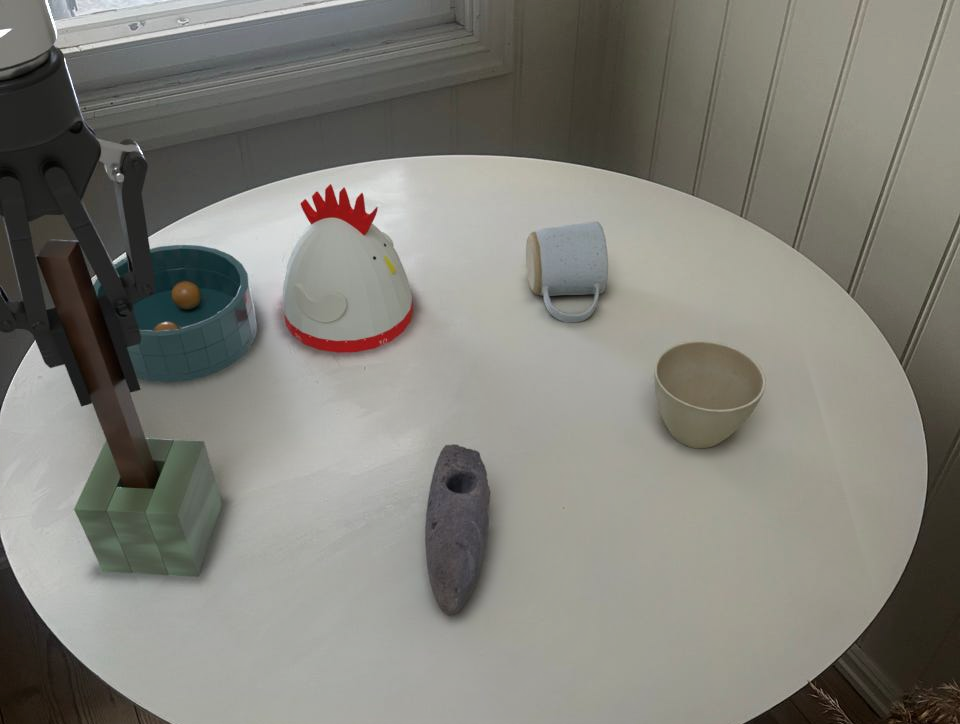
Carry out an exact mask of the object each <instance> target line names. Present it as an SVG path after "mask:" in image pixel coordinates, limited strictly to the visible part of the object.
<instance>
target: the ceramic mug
mask: <svg viewBox="0 0 960 724" xmlns="http://www.w3.org/2000/svg"><path fill="white" fill-rule="evenodd" d="M525 244H526V245H525V263H526V264H525V265H526V272H527V279H528V284H529V288H530V290H531V291H532V293H534V294H535V295H537V296H543V302H544V305H545V307H546V309H547V311H548V313H549V314H550V315H551V316H552V317H553V318H555V319H556V320H558V321H560V322H563V323H580V322H583V321H586V320H587V319H588V318H590V317H591V316H592V314H593V313H594V312H595V310H596V308H597V305H598V302H599V297H600V294H603V293H604V292H605V290H606V289H607V288H606V287H607V283H608V277H609V276H608V275H609V260H608V259H609V258H608V247H607V239H606V235H605V232H604V228H603V226H602V225H601V223H600V222H599V221H589V222H584V223H583V222H582V223H575V224H568V225H561V226H552V227H546V228H541V229H538V230H535V231H532V232H530V233H529V234H528V235H527V238H526V243H525ZM579 295H580V296H583V295H593V301H592V303H591V304H590V306H588V307H587V308H586V310H584V311H583V312H581V313H575V314H574V313H567V312H565V311H562V310H560V309H558V308H556V307H555V306H554V304H553V302H552V301H551V298H550V297H553V296H579Z"/></svg>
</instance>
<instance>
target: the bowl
mask: <svg viewBox="0 0 960 724" xmlns="http://www.w3.org/2000/svg"><path fill="white" fill-rule="evenodd" d="M150 253H151V259H152V266H153V273H154V279H155V286H156V291H155V293H154V294H153V295H152V296H150V297H141V298H139V299H137V300H136V301H135V302H134V304H133V309H134V315H135V318H136V321H137V324H138V328H139V331H140V334H141V343H140V344H137V345H134V346H130V347H127V349H128V353H129V356H130V359H131V362H132V365H133V368H134V371H135V374H136V377H137V379H139V380H143V381H148V382H154V383H155V382H157V383H178V382H179V383H181V382H187V381H193V380H197V379H201V378H205V377H207V376H210V375H213V374H216V373H217V372H220V371H222V370H224V369H226V368H227V367H229V366H231V365H232V364H234V363H235V362H237V361H238V360H240V359H241V358H242V357H243V356H244V355H245V354H246V353H247V352H248V351H249V349H250V348H251V347H252V345H253V343H254V342H255V339H256V336H257V332H258V322H257V317H256V310H255V305H254V299H253V294H252V290H251V289H252V288H251V285H250V280H249V274H248V272H247V271H246V269H245V266H244V265H243V263H242V262H240V261H239V259H236V258H235V257H234V256H233V255H231V254H230V253H227V252H225V251H223V250H220V249H217V248H215V247H210V246H205V245H199V244H173V245H171V244H170V245H162V246H157V247H152V248H150ZM113 264H114V266H115V268H116V270H117V272H118V274H119V276H120V277H121V276H123V275H125V274H126V273H128V272H129V268H128V263H127V257H123V258H122V259H120V260H118V261H117V262H116V263H113ZM182 281H189V282H192V283H194V284H195V285H196V286H197V287H198V288H199V290H200V292H201V300H200V303H199V304H198V305H197V306H196V307H195V308H193V309H190V310H184V309H181V308H179V307H178V306H176V305H175V303H174V302H173V300H172V290H173V288H174V286H175V285H176V284H178V283H179V282H182ZM93 286H94V289H95V292H96V294H97V297H100V296H104V295H106V294H105V292H104V290H103V288H102V286H101V284H100V282H99V280H98V278H97V277H96V280H95V281H94V283H93ZM166 321H168V322H173V323H175V324H177V325H178V326H179V327H180V328H179V329H173V330H164V331H153V330H154V328H155V327H156V326H157V325H158V324H159V323H161V322H166Z"/></svg>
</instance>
